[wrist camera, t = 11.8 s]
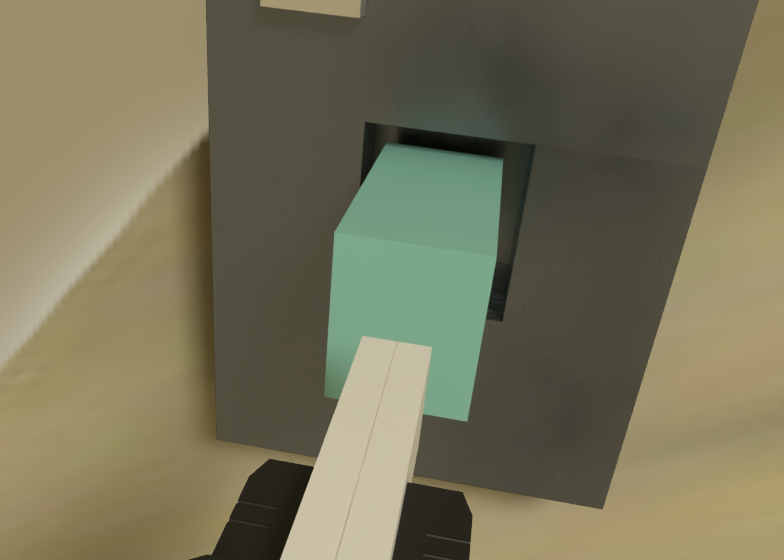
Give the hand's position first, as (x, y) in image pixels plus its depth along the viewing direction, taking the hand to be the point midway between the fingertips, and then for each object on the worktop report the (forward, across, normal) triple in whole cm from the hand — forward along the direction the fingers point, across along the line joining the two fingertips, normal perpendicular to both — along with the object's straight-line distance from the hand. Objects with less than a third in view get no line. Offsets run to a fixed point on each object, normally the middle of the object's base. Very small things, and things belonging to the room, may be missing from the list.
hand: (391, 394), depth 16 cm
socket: (+13, 0, 0) cm, 13 cm away
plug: (+12, 0, 0) cm, 12 cm away
